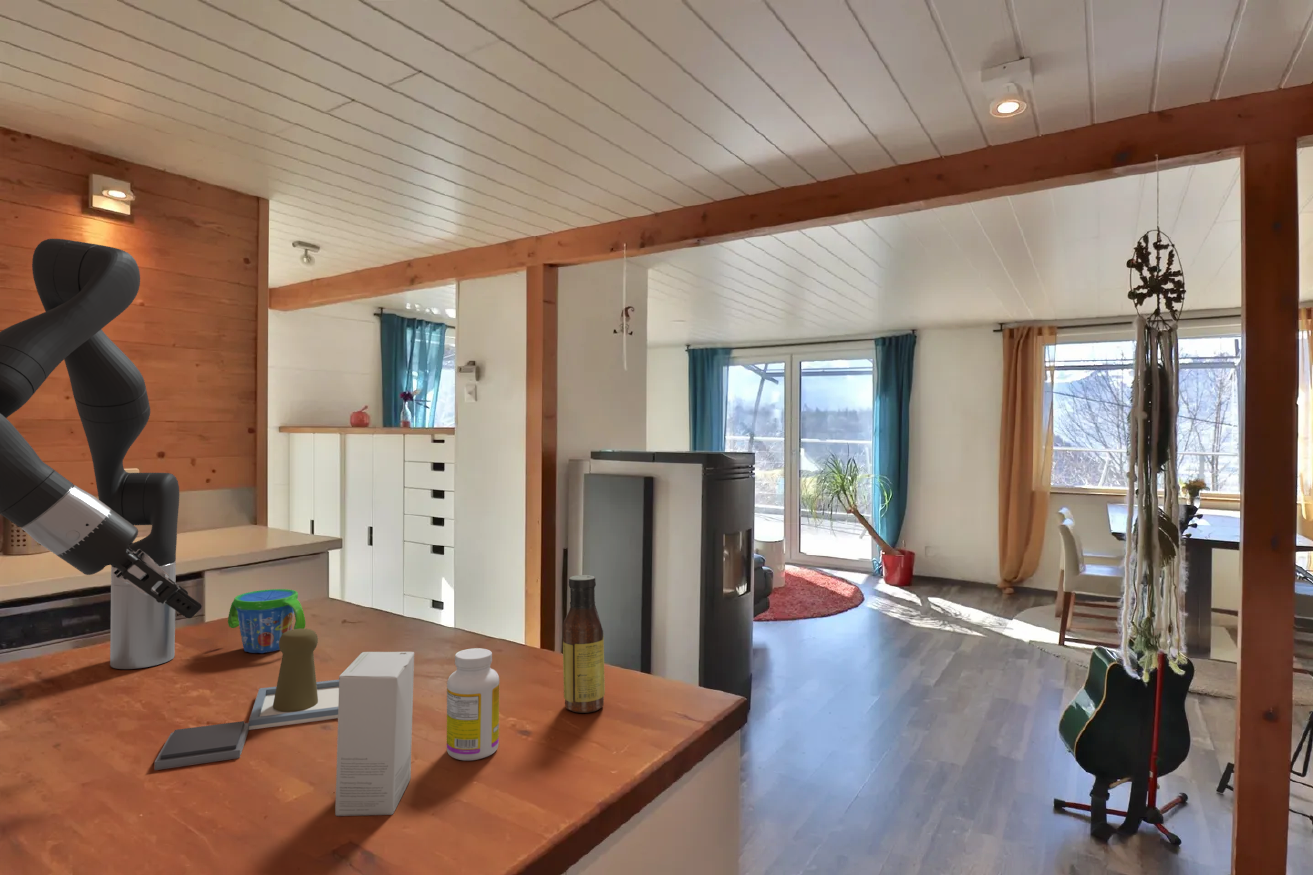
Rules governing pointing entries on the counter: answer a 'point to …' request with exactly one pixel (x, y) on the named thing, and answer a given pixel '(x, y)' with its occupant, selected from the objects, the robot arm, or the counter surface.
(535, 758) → the counter surface
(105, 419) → the robot arm
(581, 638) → the sauce bottle
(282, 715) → the blank framed board
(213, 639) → the counter surface
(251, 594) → the snack cup
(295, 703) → the olive tapered round piece
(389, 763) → the skincare box
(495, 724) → the supplement bottle
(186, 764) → the ink pad
